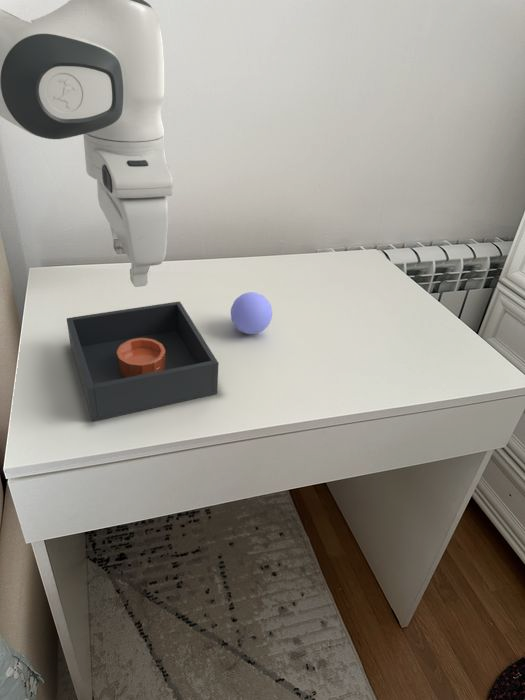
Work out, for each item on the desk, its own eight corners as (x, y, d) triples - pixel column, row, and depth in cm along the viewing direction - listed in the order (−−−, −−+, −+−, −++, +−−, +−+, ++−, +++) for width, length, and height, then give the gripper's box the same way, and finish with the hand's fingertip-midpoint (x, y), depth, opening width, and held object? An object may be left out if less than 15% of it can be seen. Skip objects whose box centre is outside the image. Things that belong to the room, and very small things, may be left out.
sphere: (253, 347, 87) (256, 310, 83) (221, 330, 91) (222, 294, 87) (278, 330, 92) (282, 295, 88) (247, 315, 95) (249, 280, 91)
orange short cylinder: (124, 385, 76) (122, 368, 74) (114, 358, 81) (112, 342, 79) (170, 376, 78) (170, 359, 77) (158, 350, 83) (157, 334, 82)
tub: (92, 422, 70) (87, 389, 67) (70, 348, 83) (66, 318, 80) (217, 393, 77) (218, 362, 74) (180, 330, 90) (179, 301, 86)
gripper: (81, 134, 68) (89, 236, 75) (117, 188, 53) (123, 308, 61) (131, 134, 70) (134, 233, 78) (178, 186, 55) (176, 301, 63)
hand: (129, 267), depth 69 cm, fingers open, 8 cm apart
